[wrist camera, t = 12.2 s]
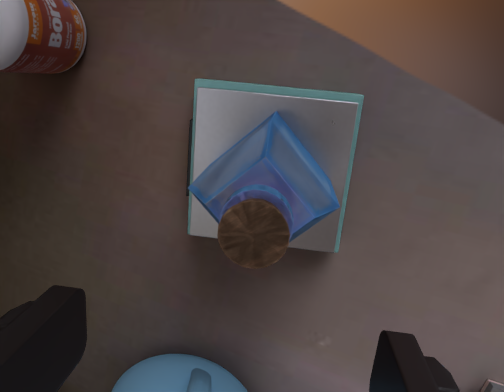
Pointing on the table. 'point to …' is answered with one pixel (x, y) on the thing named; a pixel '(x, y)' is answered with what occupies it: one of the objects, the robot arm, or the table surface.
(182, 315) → the table surface
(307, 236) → the pan
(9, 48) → the pill bottle
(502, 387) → the desk lamp
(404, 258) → the table surface
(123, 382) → the teapot
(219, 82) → the scale
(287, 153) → the perfume bottle
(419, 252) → the table surface
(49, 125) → the table surface
